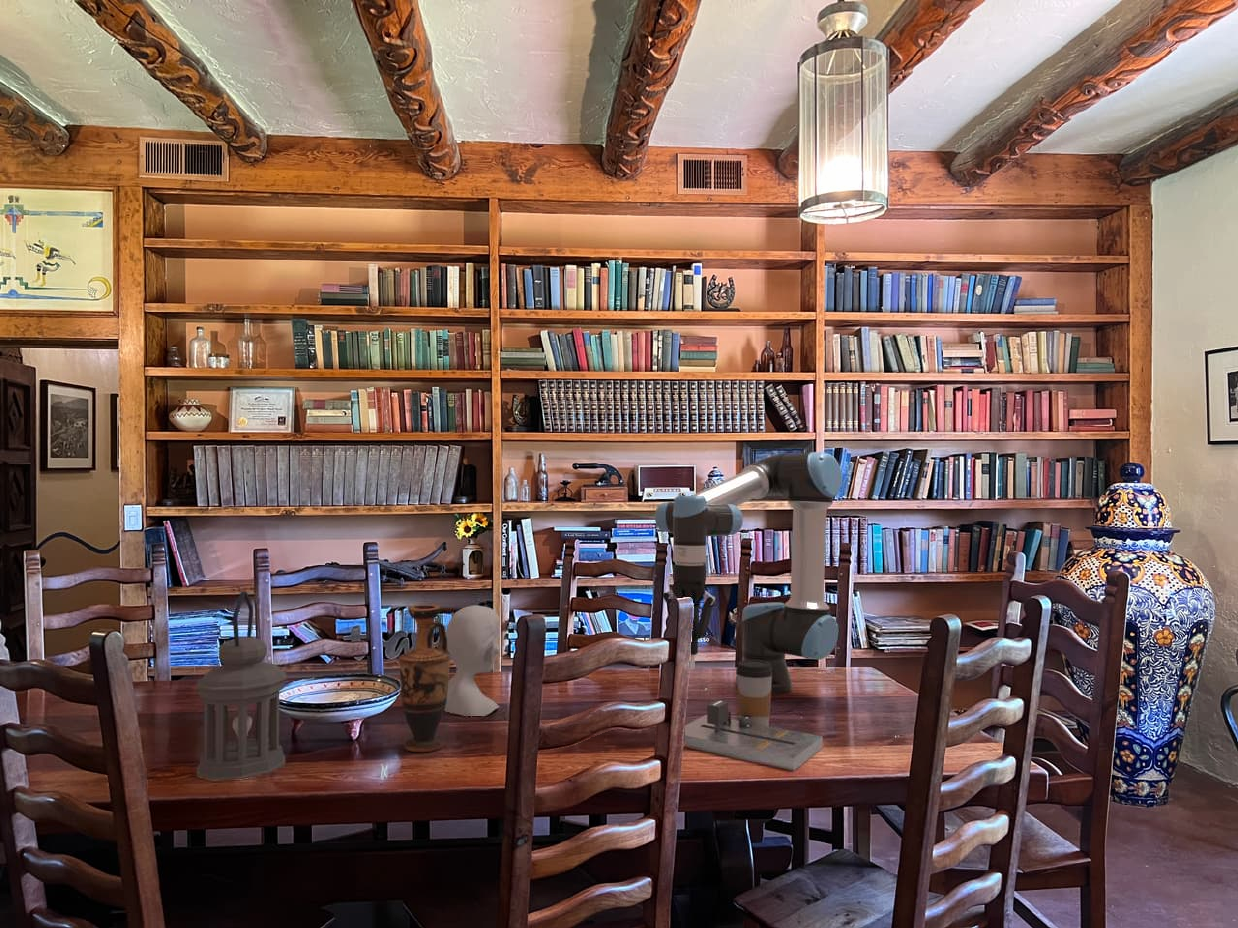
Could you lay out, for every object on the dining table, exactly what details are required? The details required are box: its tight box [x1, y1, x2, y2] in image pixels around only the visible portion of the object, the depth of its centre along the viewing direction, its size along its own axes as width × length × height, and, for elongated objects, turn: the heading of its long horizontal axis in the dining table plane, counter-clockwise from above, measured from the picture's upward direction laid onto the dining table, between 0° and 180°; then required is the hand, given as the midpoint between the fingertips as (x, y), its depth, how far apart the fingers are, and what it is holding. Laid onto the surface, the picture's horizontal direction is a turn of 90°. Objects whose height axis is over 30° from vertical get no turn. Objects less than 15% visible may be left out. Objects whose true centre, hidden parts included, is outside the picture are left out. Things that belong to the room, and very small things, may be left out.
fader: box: [706, 700, 729, 731], centre depth 177 cm, size 4×3×7 cm, turn 146°
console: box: [684, 711, 824, 771], centre depth 173 cm, size 16×28×4 cm, turn 56°
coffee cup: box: [735, 660, 773, 726], centre depth 185 cm, size 8×8×15 cm
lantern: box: [196, 590, 288, 780], centre depth 161 cm, size 17×17×35 cm
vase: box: [398, 604, 451, 754], centre depth 172 cm, size 11×11×30 cm
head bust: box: [444, 604, 501, 718], centre depth 205 cm, size 22×19×25 cm
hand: (688, 668), depth 180 cm, fingers closed
